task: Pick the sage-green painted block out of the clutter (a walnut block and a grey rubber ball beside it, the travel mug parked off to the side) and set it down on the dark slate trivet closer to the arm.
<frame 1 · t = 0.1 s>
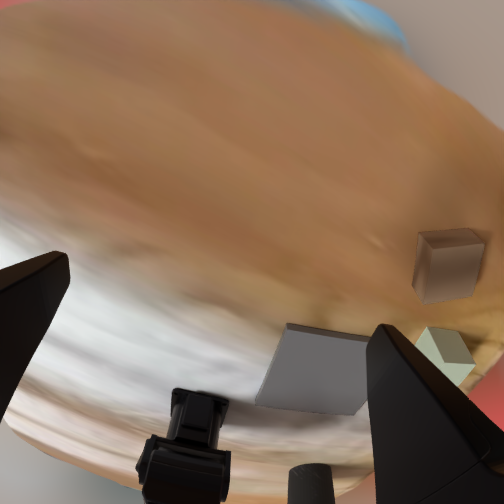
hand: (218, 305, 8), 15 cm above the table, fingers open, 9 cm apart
sage block: (431, 344, 28), on the table
slate trivet: (325, 375, 30), on the table
travel mug: (309, 469, 43), on the table
walnut block: (439, 255, 24), on the table
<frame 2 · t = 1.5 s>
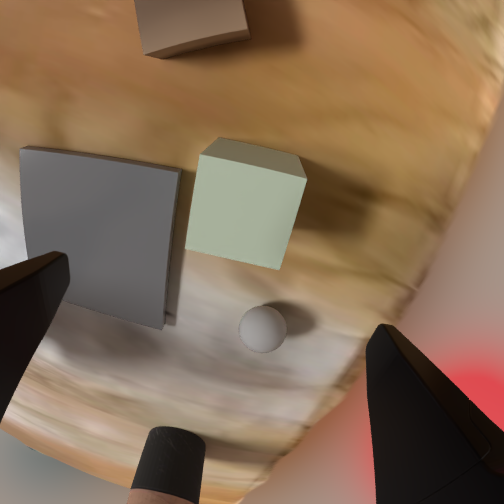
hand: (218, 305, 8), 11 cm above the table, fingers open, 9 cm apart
sage block: (249, 182, 18), on the table
slate trivet: (91, 237, 20), on the table
travel mug: (177, 439, 33), on the table
walnut block: (198, 10, 13), on the table
grey ball: (262, 329, 21), point 2 cm above the table
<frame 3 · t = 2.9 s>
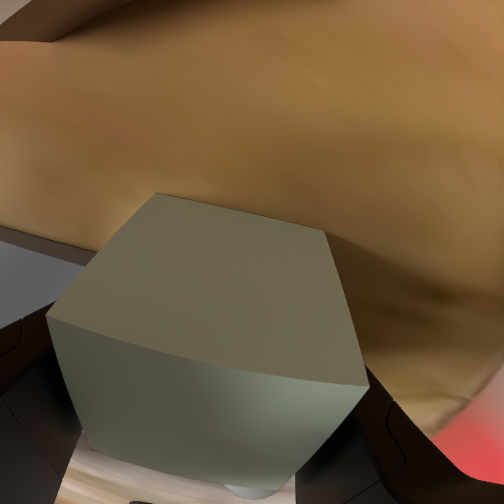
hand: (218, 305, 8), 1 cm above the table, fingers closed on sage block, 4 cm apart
sage block: (223, 282, 9), on the table, touching gripper
slate trivet: (5, 332, 11), on the table
grey ball: (253, 469, 12), point 2 cm above the table
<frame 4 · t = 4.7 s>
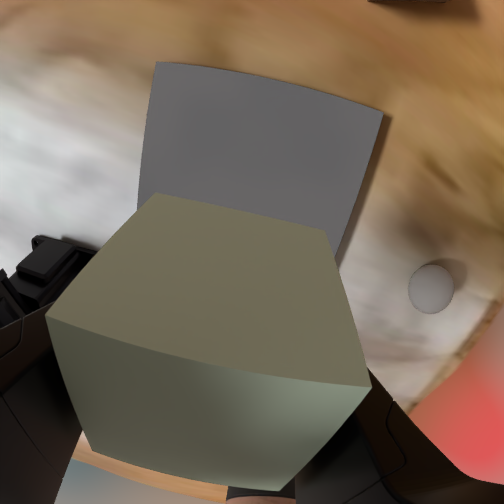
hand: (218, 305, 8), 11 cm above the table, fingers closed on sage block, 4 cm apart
sage block: (224, 282, 9), point 10 cm above the table, touching gripper
slate trivet: (246, 183, 18), on the table
travel mug: (269, 434, 31), on the table
grey ball: (431, 289, 18), point 2 cm above the table
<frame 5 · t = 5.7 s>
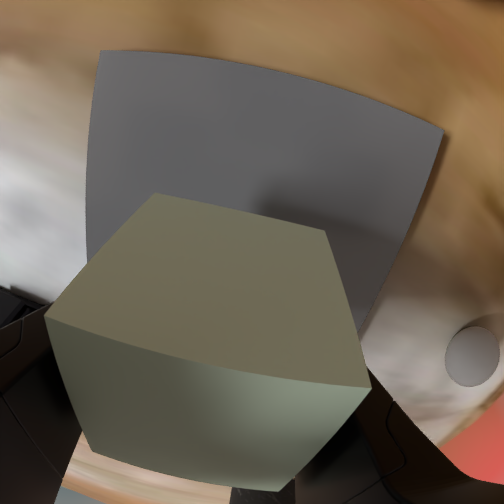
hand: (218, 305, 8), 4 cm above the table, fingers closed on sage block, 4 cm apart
sage block: (223, 282, 9), point 3 cm above the table, touching gripper
slate trivet: (238, 231, 12), on the table
travel mug: (268, 485, 25), on the table
grey ball: (472, 356, 13), point 2 cm above the table
when the fingers open (3 cm above the table, at t = 6.3 s): sage block drops 1 cm, resting on slate trivet.
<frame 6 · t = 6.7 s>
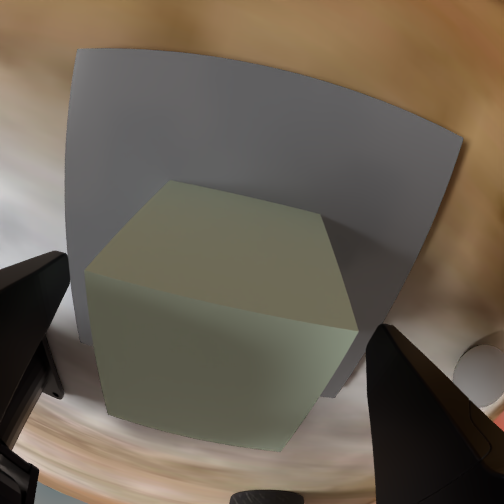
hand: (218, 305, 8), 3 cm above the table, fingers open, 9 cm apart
sage block: (230, 262, 10), point 1 cm above the table, touching slate trivet
slate trivet: (232, 250, 11), on the table
travel mug: (267, 498, 24), on the table
grey ball: (481, 376, 12), point 2 cm above the table
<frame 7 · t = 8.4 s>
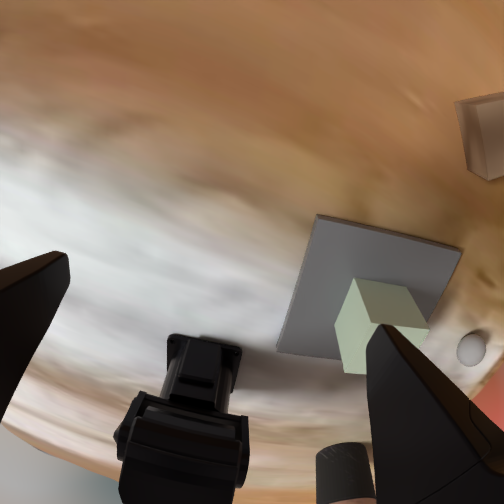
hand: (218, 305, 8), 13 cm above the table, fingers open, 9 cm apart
sage block: (370, 306, 23), point 1 cm above the table, touching slate trivet
slate trivet: (367, 300, 24), on the table
travel mug: (340, 452, 36), on the table
walnut block: (484, 129, 17), on the table
grey ball: (471, 350, 24), point 2 cm above the table
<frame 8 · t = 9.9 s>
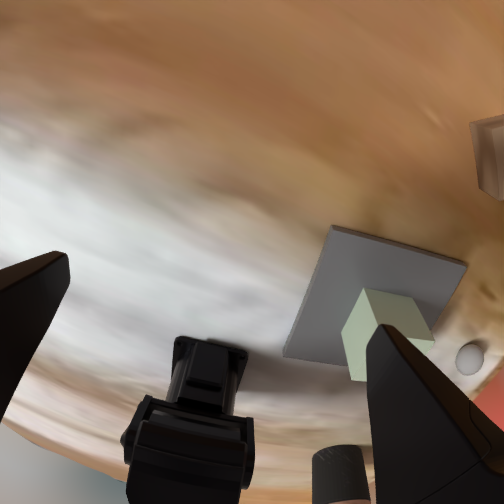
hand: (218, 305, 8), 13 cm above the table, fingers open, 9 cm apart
sage block: (376, 315, 23), point 1 cm above the table, touching slate trivet
slate trivet: (374, 309, 24), on the table
travel mug: (336, 454, 37), on the table
walnut block: (496, 148, 17), on the table
grey ball: (469, 359, 25), point 2 cm above the table
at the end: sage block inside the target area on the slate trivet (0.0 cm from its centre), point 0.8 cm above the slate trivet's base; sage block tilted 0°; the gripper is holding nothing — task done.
